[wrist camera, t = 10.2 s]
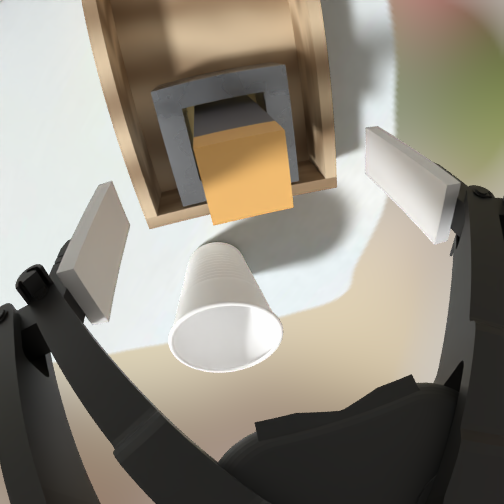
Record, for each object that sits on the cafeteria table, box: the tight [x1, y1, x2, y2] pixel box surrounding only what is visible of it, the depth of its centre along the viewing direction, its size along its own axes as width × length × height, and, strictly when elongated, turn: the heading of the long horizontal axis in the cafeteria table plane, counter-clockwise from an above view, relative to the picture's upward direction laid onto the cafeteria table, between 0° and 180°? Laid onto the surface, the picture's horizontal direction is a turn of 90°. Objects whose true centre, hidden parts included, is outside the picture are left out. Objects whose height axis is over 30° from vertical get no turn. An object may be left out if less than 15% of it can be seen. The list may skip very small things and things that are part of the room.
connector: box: [193, 95, 294, 226], centre depth 20 cm, size 4×4×12 cm
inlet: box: [151, 62, 299, 207], centre depth 23 cm, size 9×9×4 cm
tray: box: [82, 0, 337, 229], centre depth 20 cm, size 22×16×5 cm
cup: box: [168, 242, 283, 372], centre depth 30 cm, size 10×10×11 cm
